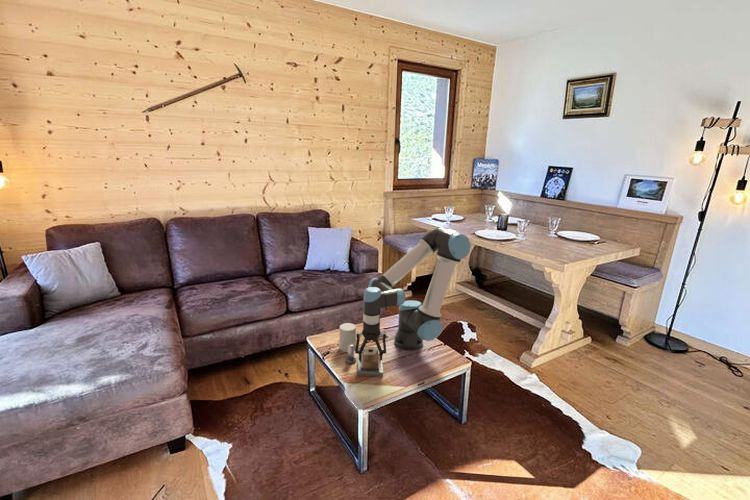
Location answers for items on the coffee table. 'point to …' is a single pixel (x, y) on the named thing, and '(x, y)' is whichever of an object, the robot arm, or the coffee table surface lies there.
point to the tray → (370, 370)
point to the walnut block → (370, 357)
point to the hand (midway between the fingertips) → (370, 365)
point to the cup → (347, 336)
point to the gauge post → (350, 354)
